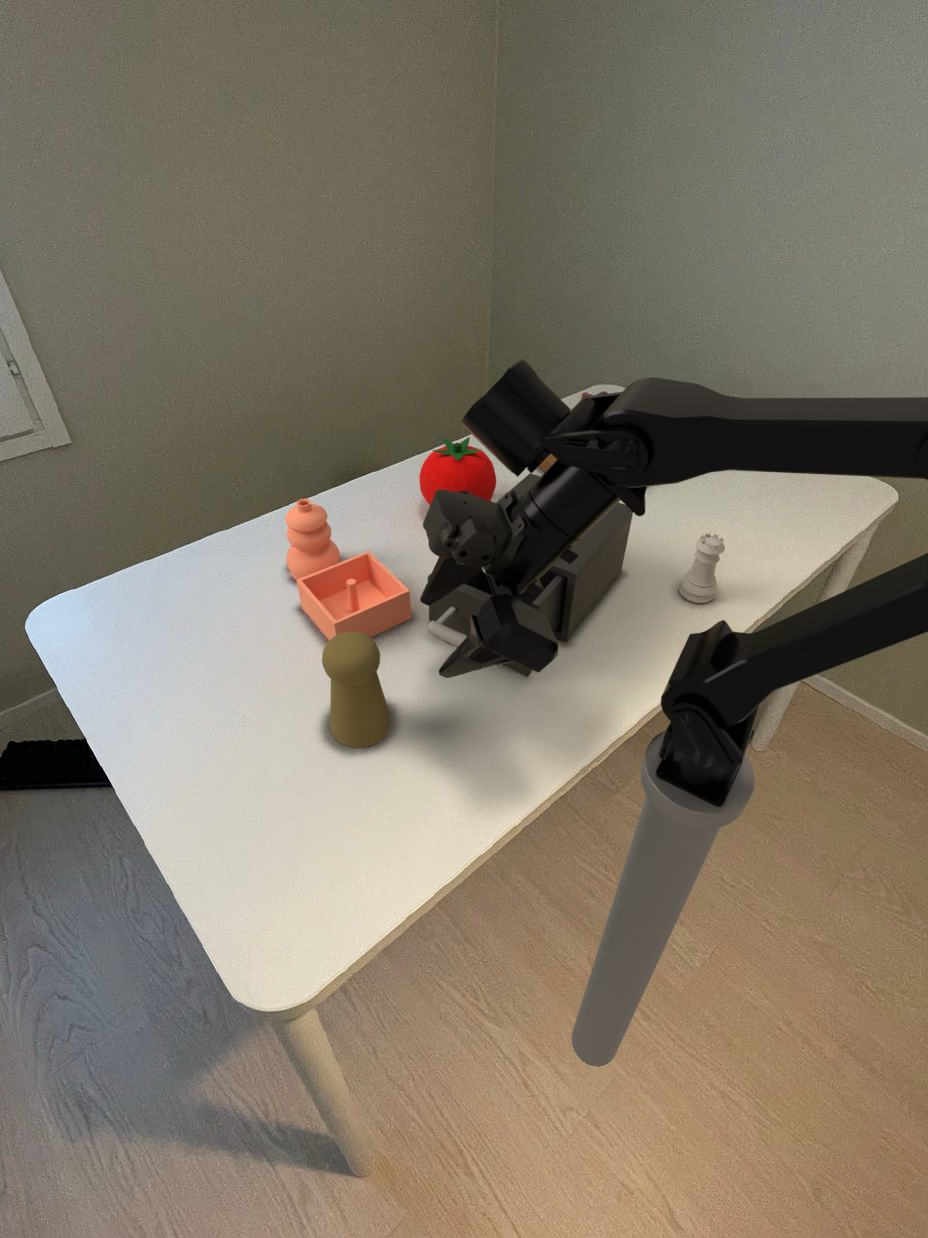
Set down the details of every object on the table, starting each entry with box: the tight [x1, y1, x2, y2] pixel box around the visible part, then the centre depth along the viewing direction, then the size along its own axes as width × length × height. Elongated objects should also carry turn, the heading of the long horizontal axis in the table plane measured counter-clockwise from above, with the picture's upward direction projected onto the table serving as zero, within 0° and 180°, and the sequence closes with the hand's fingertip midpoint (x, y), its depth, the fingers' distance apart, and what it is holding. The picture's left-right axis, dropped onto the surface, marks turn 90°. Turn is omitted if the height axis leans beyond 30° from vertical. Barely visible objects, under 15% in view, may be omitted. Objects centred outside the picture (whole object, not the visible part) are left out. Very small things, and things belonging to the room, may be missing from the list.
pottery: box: [285, 498, 412, 642], centre depth 81 cm, size 18×10×10 cm, turn 36°
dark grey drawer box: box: [508, 472, 634, 643], centre depth 83 cm, size 15×14×10 cm
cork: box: [321, 631, 392, 749], centre depth 66 cm, size 6×6×11 cm
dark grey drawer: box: [426, 570, 568, 678], centre depth 76 cm, size 18×13×8 cm
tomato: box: [418, 436, 497, 506], centre depth 95 cm, size 10×10×10 cm
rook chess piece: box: [678, 532, 726, 604], centre depth 82 cm, size 4×4×8 cm
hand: (432, 637), depth 63 cm, fingers open, 9 cm apart
